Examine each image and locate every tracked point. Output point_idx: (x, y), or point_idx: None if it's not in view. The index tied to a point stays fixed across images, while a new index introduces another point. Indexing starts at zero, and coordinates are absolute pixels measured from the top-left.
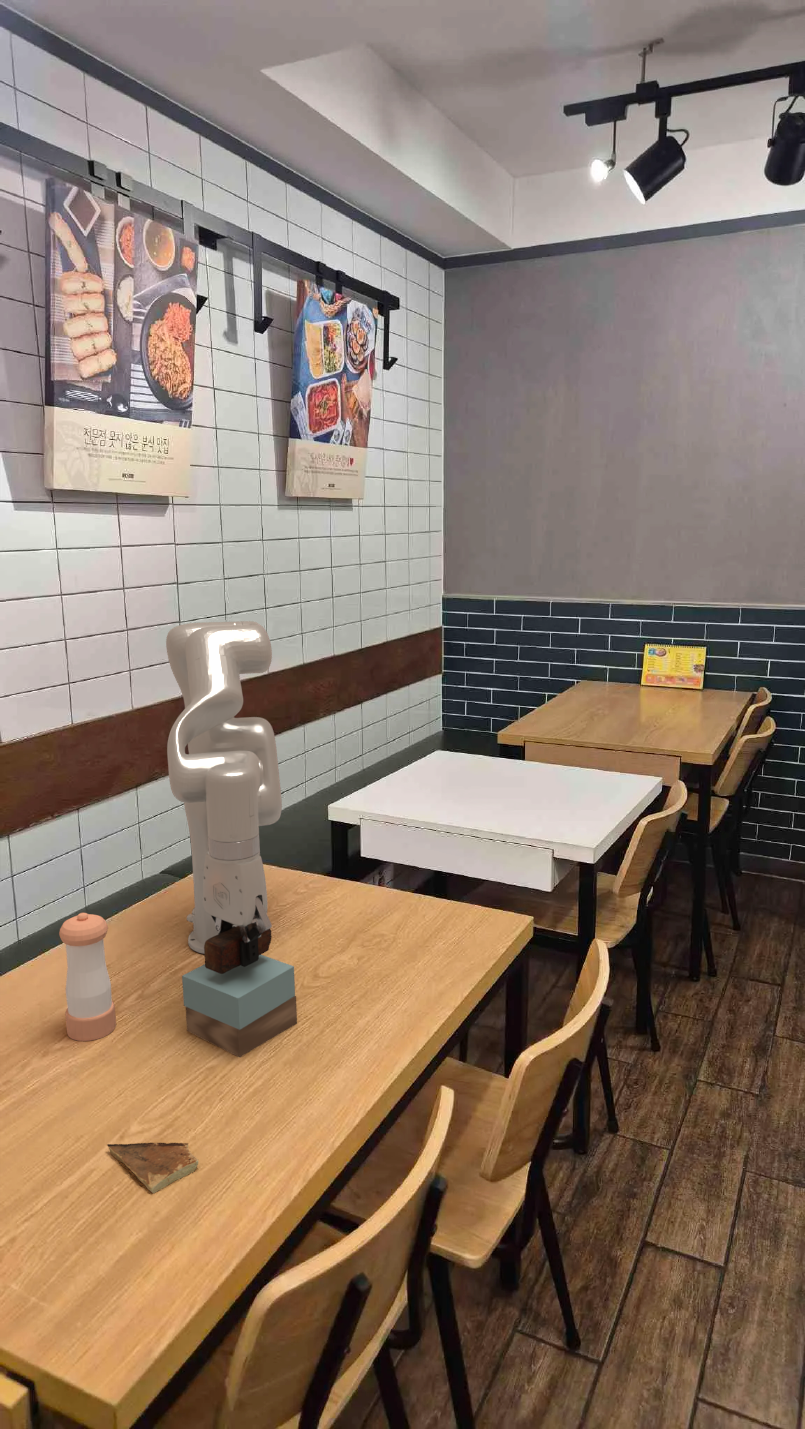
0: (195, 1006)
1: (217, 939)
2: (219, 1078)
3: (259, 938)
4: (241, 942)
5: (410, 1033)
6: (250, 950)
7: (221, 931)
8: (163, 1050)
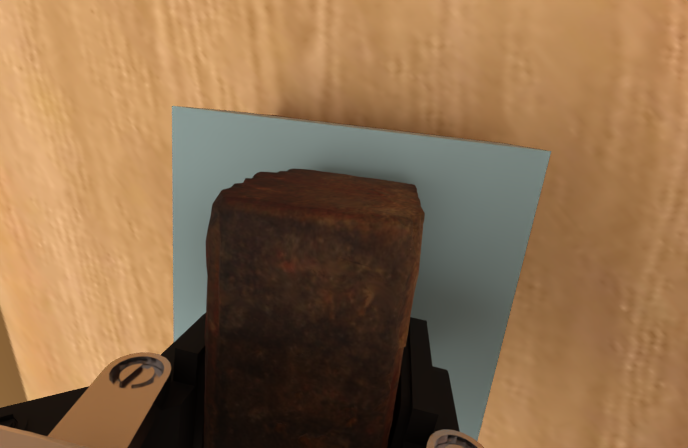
0: (444, 136)
1: (327, 294)
2: (254, 8)
3: None
4: (182, 352)
5: (43, 359)
6: (176, 343)
7: (437, 445)
8: (484, 32)
